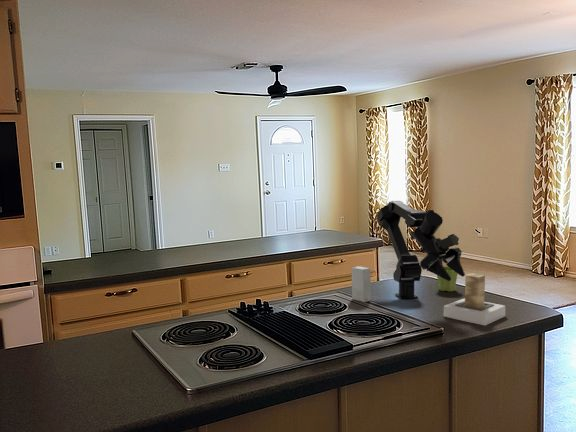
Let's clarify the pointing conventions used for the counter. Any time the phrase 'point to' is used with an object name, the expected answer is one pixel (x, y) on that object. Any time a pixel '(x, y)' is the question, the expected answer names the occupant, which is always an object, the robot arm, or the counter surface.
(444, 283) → the plant pot
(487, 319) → the socket block
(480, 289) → the peg
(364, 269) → the skincare box
